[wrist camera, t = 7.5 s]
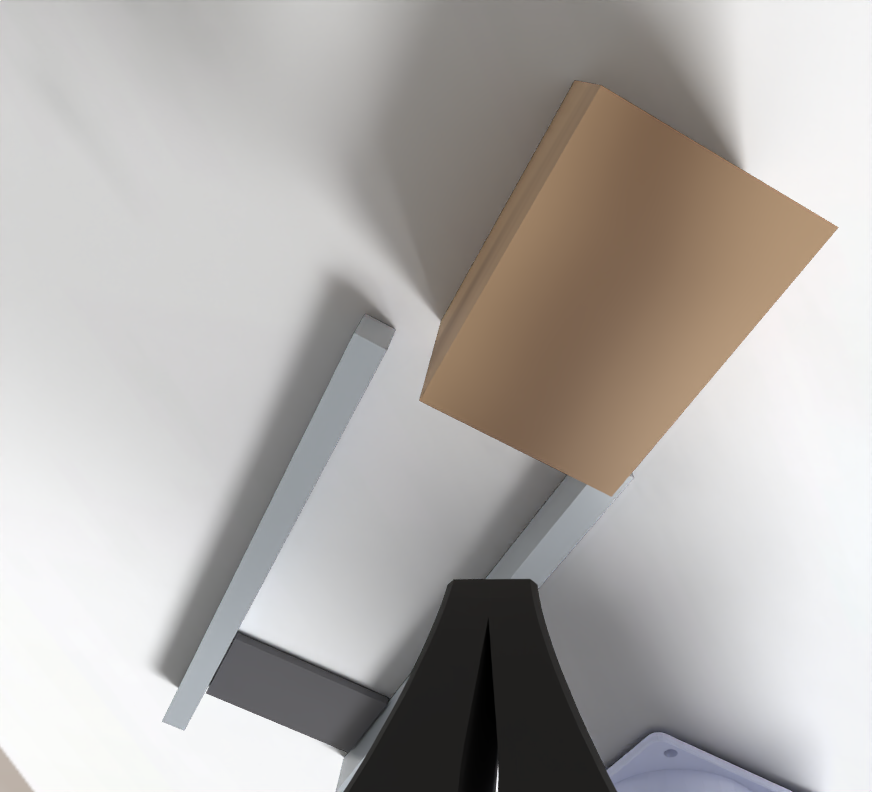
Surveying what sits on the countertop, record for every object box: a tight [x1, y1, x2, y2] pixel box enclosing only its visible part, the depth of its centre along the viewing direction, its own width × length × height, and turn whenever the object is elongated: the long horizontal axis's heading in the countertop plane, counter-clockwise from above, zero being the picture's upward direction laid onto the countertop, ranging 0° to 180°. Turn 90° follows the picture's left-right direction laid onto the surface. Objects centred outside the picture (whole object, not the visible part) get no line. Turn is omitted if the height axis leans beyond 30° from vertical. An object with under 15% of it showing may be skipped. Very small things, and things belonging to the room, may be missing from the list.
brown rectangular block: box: [419, 80, 838, 497], centre depth 15 cm, size 5×7×5 cm
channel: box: [162, 314, 634, 792], centre depth 23 cm, size 9×20×2 cm, turn 152°
